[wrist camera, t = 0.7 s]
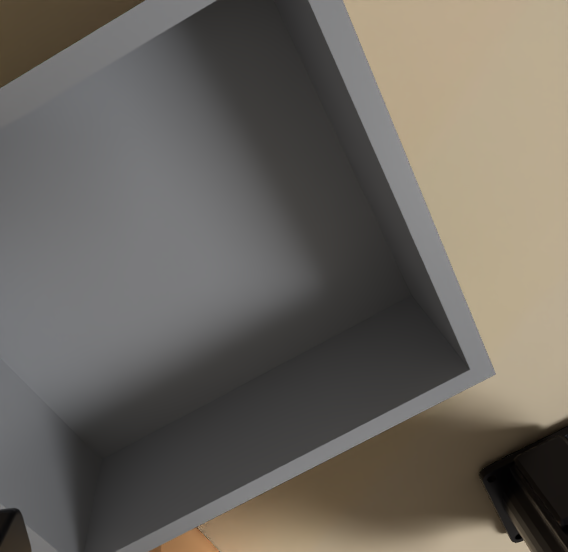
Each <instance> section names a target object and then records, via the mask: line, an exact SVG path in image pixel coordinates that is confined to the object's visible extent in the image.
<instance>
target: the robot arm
mask: <svg viewBox="0 0 568 552" xmlns="http://www.w3.org/2000/svg"><path fill="white" fill-rule="evenodd" d="M479 477H480V479H481V481H482V483H483V485H484V487H485V489H486V491H487V493H488V495H489V498H490V500H491V502H492V504H493V506H494V508H495V510H496V512H497V514H498V516H499V518H500V520H501V522H502V524H503V526H504V528H505V530H506V532H507V534H508V536H509V537H510V539H511V541H512V542H515V543H517V542H521V541H523V540H524V541H525V543H526V544H527V546H528V548H529V549H530V551H531V552H568V427H566V428H564V429H562V430H560V431H558V432H556V433H554V434H552V435H550V436H548V437H546V438H544V439H542V440H539V441H537V442H535V443H533V444H531V445H529V446H527V447H525V448H523V449H521V450H519V451H517V452H515V453H513V454H511V455H509V456H507V457H505V458H503V459H501V460H499V461H497V462H495V463H493V464H491V465H489V466H487V467H485V468H484V469H482V470H481V472H480V474H479ZM0 552H32V550H31V544H30V541H29V537H28V533H27V530H26V526H25V523H24V519H23V516H22V513H21V511H20V510H19V509H17V508H7V509H0Z"/></svg>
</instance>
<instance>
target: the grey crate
mask: <svg viewBox="0 0 568 552" xmlns="http://www.w3.org/2000/svg"><path fill="white" fill-rule="evenodd" d="M495 374H496V373H495V371H494V368H493V366H492V364H491V361H490V359H489V356H488V354H487V351H486V349H485V346H484V344H483V342H482V339H481V337H480V334H479V332H478V329H477V327H476V325H475V322H474V320H473V317H472V315H471V312H470V310H469V307H468V305H467V303H466V300H465V298H464V295H463V293H462V290H461V288H460V286H459V283H458V281H457V278H456V276H455V273H454V271H453V268H452V266H451V264H450V261H449V259H448V256H447V254H446V251H445V249H444V246H443V244H442V242H441V239H440V237H439V234H438V232H437V229H436V227H435V225H434V222H433V220H432V217H431V215H430V212H429V210H428V207H427V205H426V203H425V200H424V198H423V195H422V193H421V190H420V188H419V186H418V183H417V181H416V178H415V176H414V173H413V171H412V168H411V166H410V164H409V161H408V159H407V156H406V154H405V151H404V149H403V146H402V144H401V142H400V139H399V137H398V134H397V132H396V129H395V127H394V125H393V122H392V120H391V117H390V115H389V112H388V110H387V107H386V105H385V103H384V100H383V98H382V95H381V93H380V90H379V88H378V86H377V83H376V81H375V78H374V76H373V73H372V71H371V68H370V66H369V64H368V61H367V59H366V56H365V54H364V51H363V49H362V46H361V44H360V42H359V39H358V37H357V34H356V32H355V29H354V27H353V25H352V22H351V20H350V17H349V15H348V12H347V10H346V7H345V5H344V3H343V0H145V1H144V2H142V3H140V4H139V5H137V6H135V7H134V8H132V9H130V10H129V11H127V12H125V13H124V14H122V15H120V16H119V17H117V18H116V19H114V20H112V21H111V22H109V23H107V24H106V25H104V26H102V27H101V28H99V29H97V30H96V31H94V32H92V33H91V34H89V35H87V36H86V37H84V38H82V39H81V40H79V41H77V42H76V43H74V44H73V45H71V46H69V47H68V48H66V49H64V50H63V51H61V52H59V53H58V54H56V55H54V56H53V57H51V58H49V59H48V60H46V61H44V62H43V63H41V64H39V65H38V66H36V67H34V68H33V69H31V70H30V71H28V72H26V73H25V74H23V75H21V76H20V77H18V78H16V79H15V80H13V81H11V82H10V83H8V84H6V85H5V86H3V87H1V88H0V509H7V508H17V509H19V510H20V511H21V513H22V516H23V519H24V523H25V526H26V530H27V533H28V537H29V541H30V544H31V550H32V552H148V551H150V550H152V549H154V548H156V547H158V546H160V545H162V544H164V543H166V542H168V541H170V540H172V539H174V538H176V537H178V536H180V535H182V534H184V533H186V532H188V531H190V530H192V529H194V528H195V527H197V526H199V525H201V524H203V523H205V522H207V521H209V520H211V519H213V518H215V517H217V516H219V515H221V514H223V513H225V512H227V511H229V510H231V509H233V508H235V507H237V506H239V505H241V504H243V503H244V502H246V501H248V500H250V499H252V498H254V497H256V496H258V495H260V494H262V493H264V492H266V491H268V490H270V489H272V488H274V487H276V486H278V485H280V484H282V483H284V482H286V481H288V480H290V479H292V478H293V477H295V476H297V475H299V474H301V473H303V472H305V471H307V470H309V469H311V468H313V467H315V466H317V465H319V464H321V463H323V462H325V461H327V460H329V459H331V458H333V457H335V456H337V455H339V454H341V453H342V452H344V451H346V450H348V449H350V448H352V447H354V446H356V445H358V444H360V443H362V442H364V441H366V440H368V439H370V438H372V437H374V436H376V435H378V434H380V433H382V432H384V431H386V430H388V429H390V428H391V427H393V426H395V425H397V424H399V423H401V422H403V421H405V420H407V419H409V418H411V417H413V416H415V415H417V414H419V413H421V412H423V411H425V410H427V409H429V408H431V407H433V406H435V405H437V404H439V403H440V402H442V401H444V400H446V399H448V398H450V397H452V396H454V395H456V394H458V393H460V392H462V391H464V390H466V389H468V388H470V387H472V386H474V385H476V384H478V383H480V382H482V381H484V380H486V379H488V378H489V377H491V376H493V375H495Z"/></svg>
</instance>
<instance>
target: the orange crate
mask: <svg viewBox="0 0 568 552" xmlns="http://www.w3.org/2000/svg"><path fill="white" fill-rule="evenodd" d="M148 552H220V551H219V550H218V549H217V548H216V547H215V546H214V545H213V544H212V543H211V542H210V541H209V540H208V539H207V538H206V537H205V536H204V535H203V534H202V533H201V532H200V530H199V529H198V528H197V527H195V528H194V529H192V530H190V531H188V532H186V533H184V534H182V535H180V536H178V537H176V538H174V539H172V540H170V541H168V542H166V543H164V544H162V545H160V546H158V547H156V548H154V549H152V550H150V551H148Z"/></svg>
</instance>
